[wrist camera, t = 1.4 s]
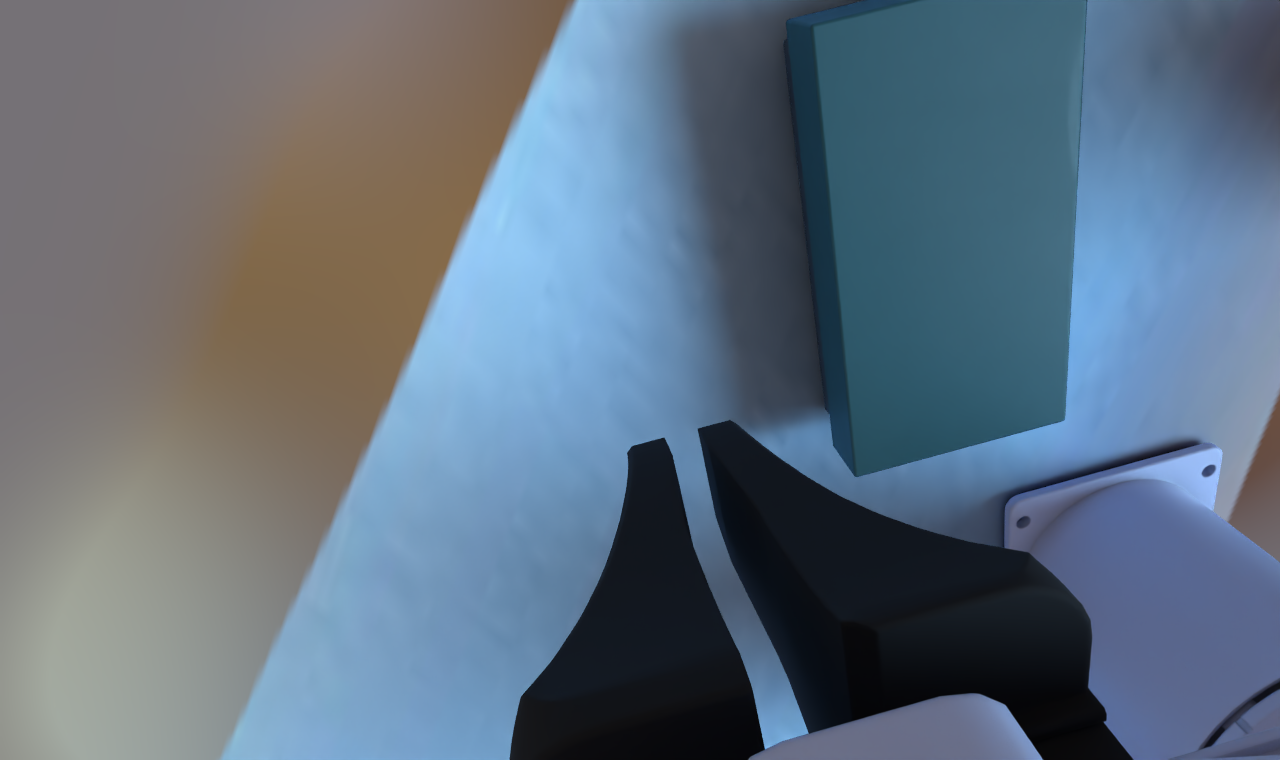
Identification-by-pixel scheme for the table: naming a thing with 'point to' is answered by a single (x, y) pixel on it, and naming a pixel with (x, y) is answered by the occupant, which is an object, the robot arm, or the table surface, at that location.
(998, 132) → the teal flat panel
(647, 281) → the table surface
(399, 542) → the table surface
